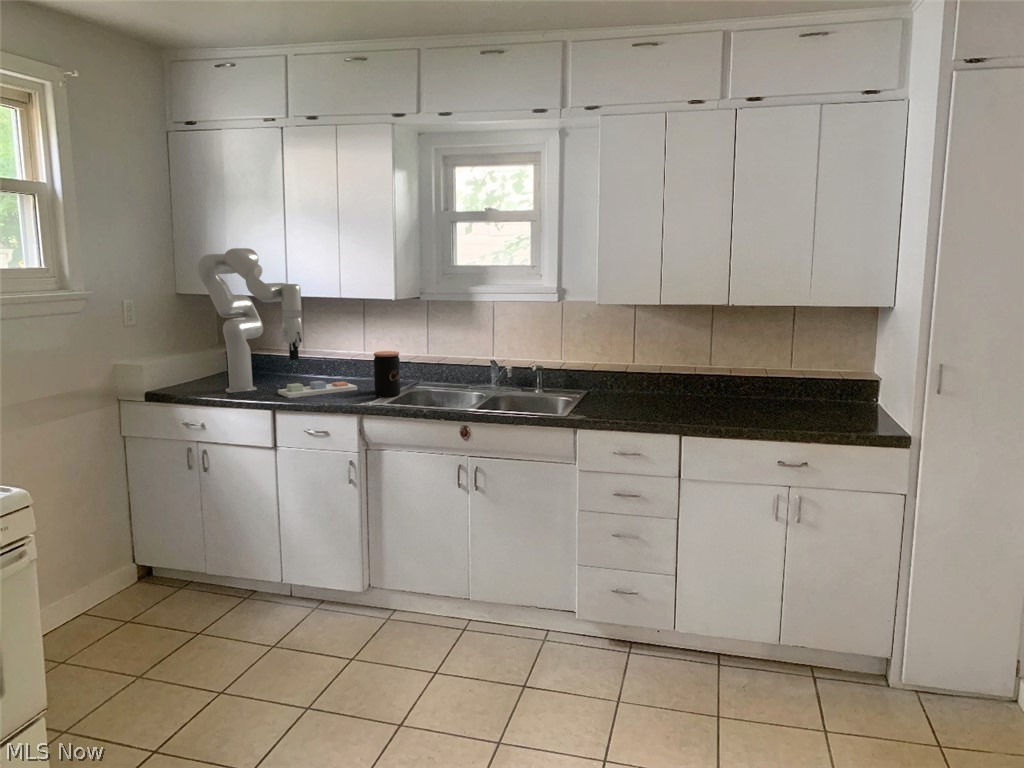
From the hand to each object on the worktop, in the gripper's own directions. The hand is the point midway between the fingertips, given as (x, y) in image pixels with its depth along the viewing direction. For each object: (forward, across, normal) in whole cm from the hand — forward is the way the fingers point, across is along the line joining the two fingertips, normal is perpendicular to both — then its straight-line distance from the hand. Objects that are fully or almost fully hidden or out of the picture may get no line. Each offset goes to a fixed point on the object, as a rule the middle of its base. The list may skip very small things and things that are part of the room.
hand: (294, 359), depth 311 cm
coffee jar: (+16, +18, +33) cm, 41 cm away
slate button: (+14, 0, +10) cm, 17 cm away
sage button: (+14, 0, 0) cm, 14 cm away
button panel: (+16, 0, +10) cm, 19 cm away
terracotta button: (+16, 0, +20) cm, 25 cm away
